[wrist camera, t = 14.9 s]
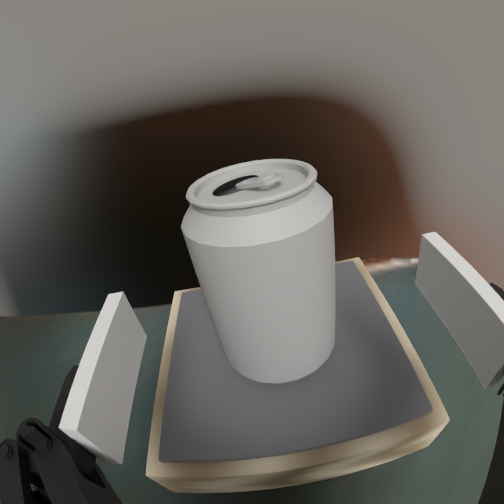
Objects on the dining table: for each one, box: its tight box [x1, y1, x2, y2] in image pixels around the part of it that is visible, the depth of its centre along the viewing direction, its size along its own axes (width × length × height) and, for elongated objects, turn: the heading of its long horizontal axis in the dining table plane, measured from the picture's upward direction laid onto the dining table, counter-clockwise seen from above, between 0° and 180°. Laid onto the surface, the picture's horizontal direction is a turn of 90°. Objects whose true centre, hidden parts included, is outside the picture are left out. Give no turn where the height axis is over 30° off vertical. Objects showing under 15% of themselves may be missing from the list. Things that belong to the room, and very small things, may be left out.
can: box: [181, 159, 336, 384], centre depth 17 cm, size 8×8×12 cm
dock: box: [146, 257, 450, 493], centre depth 21 cm, size 18×18×5 cm
